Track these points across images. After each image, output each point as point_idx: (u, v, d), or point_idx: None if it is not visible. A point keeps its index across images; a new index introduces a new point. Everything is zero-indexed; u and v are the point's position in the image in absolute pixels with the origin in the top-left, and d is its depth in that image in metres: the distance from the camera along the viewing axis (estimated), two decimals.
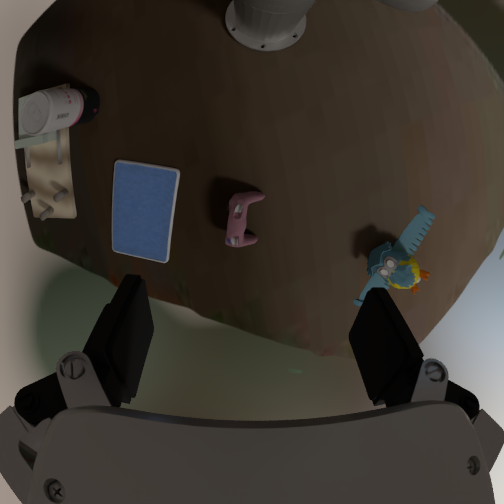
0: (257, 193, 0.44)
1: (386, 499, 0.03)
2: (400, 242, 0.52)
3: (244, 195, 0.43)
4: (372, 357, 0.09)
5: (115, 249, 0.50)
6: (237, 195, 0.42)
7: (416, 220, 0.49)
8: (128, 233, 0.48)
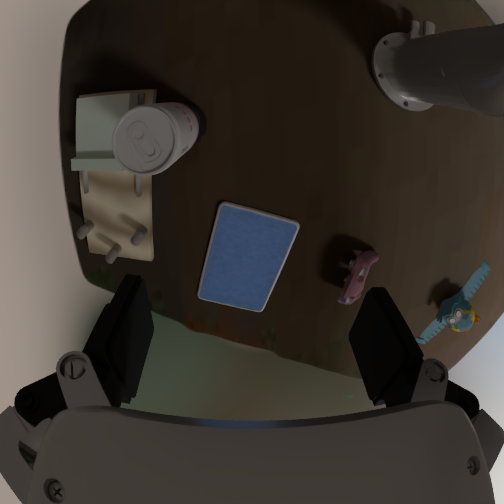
0: (374, 254, 0.42)
1: (386, 499, 0.03)
2: (462, 291, 0.49)
3: (366, 258, 0.40)
4: (372, 357, 0.09)
5: (202, 296, 0.48)
6: (361, 258, 0.40)
7: (478, 273, 0.47)
8: (223, 282, 0.46)
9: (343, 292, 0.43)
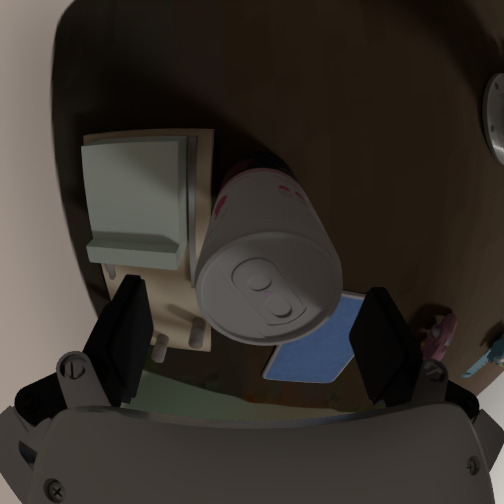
0: (455, 318, 0.32)
1: (386, 499, 0.03)
2: None
3: (450, 326, 0.31)
4: (372, 357, 0.09)
5: (268, 377, 0.39)
6: (446, 328, 0.30)
7: None
8: (295, 364, 0.37)
9: None
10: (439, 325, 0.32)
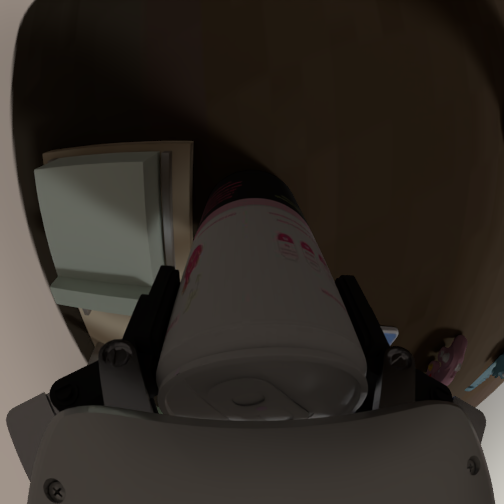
0: (465, 341, 0.28)
1: (386, 499, 0.03)
2: None
3: (461, 350, 0.27)
4: None
5: None
6: (457, 353, 0.27)
7: None
8: None
9: None
10: (449, 349, 0.28)
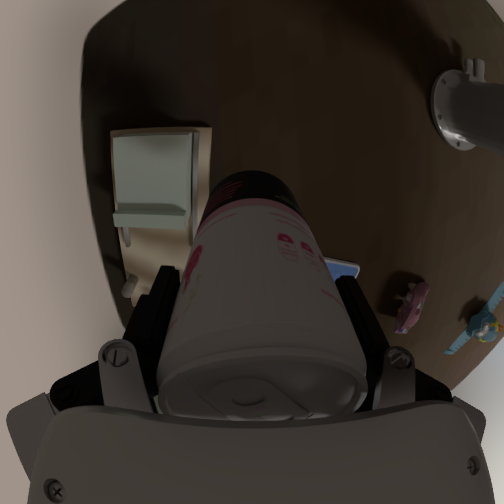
0: (426, 286, 0.40)
1: (386, 499, 0.03)
2: (487, 304, 0.48)
3: (422, 291, 0.39)
4: None
5: None
6: (418, 292, 0.38)
7: (501, 287, 0.45)
8: None
9: (400, 324, 0.41)
10: (412, 291, 0.40)
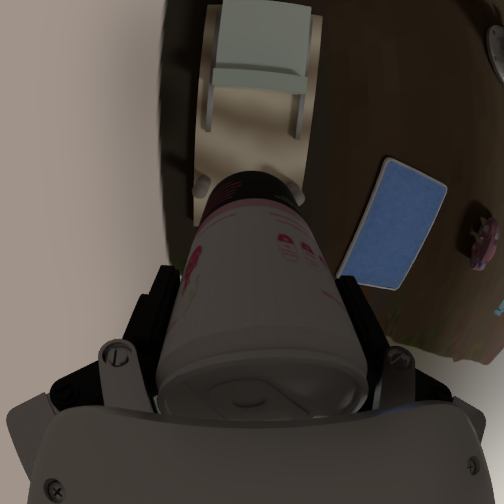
0: (496, 220, 0.32)
1: (386, 499, 0.03)
2: None
3: (496, 222, 0.31)
4: None
5: None
6: (493, 222, 0.30)
7: None
8: (371, 256, 0.36)
9: (479, 257, 0.33)
10: (486, 223, 0.32)
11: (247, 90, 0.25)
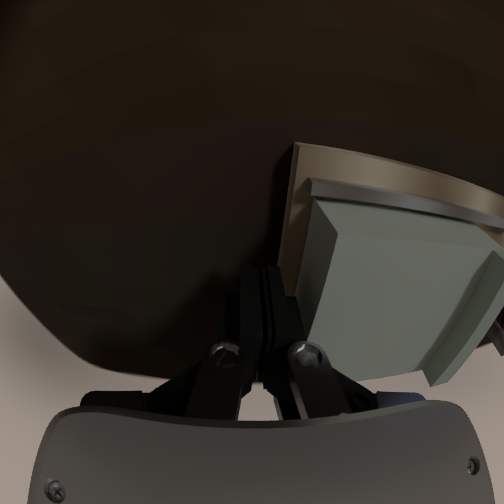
0: None
1: (386, 499, 0.03)
2: None
3: None
4: None
5: None
6: None
7: None
8: None
9: None
10: None
11: None
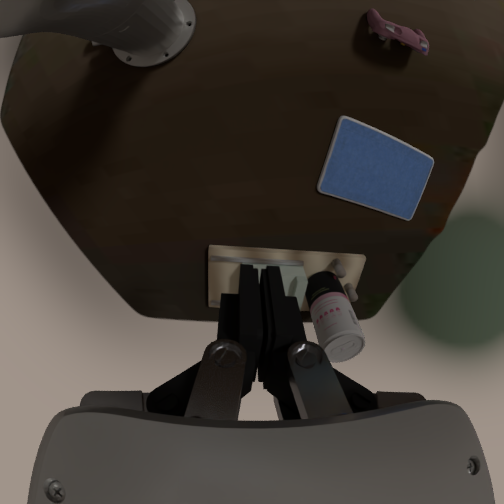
0: (370, 13, 0.23)
1: (386, 499, 0.03)
2: None
3: (374, 22, 0.23)
4: None
5: (409, 216, 0.41)
6: (375, 28, 0.23)
7: None
8: (398, 194, 0.39)
9: (415, 48, 0.24)
10: None
11: None
